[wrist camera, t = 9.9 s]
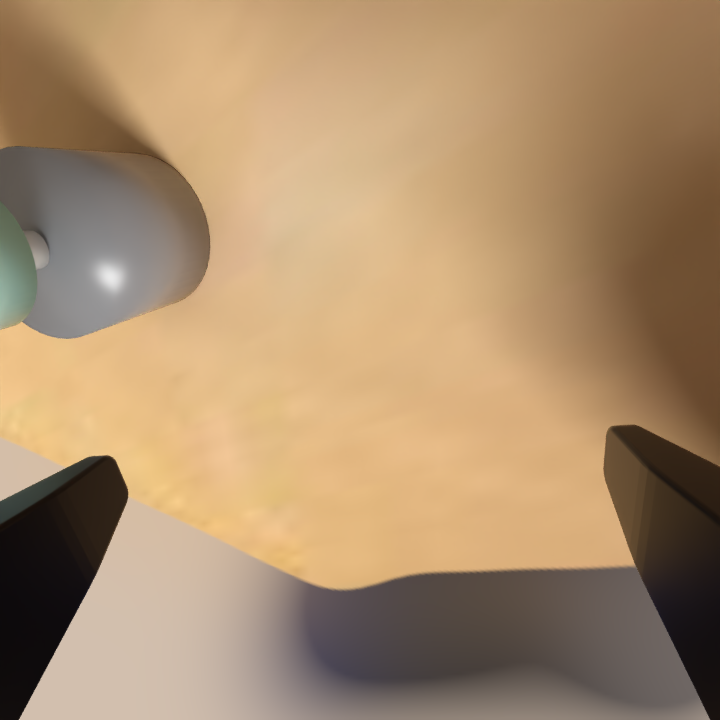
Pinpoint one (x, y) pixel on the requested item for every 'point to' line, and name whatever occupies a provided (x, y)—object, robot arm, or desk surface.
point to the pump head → (18, 268)
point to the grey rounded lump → (104, 234)
